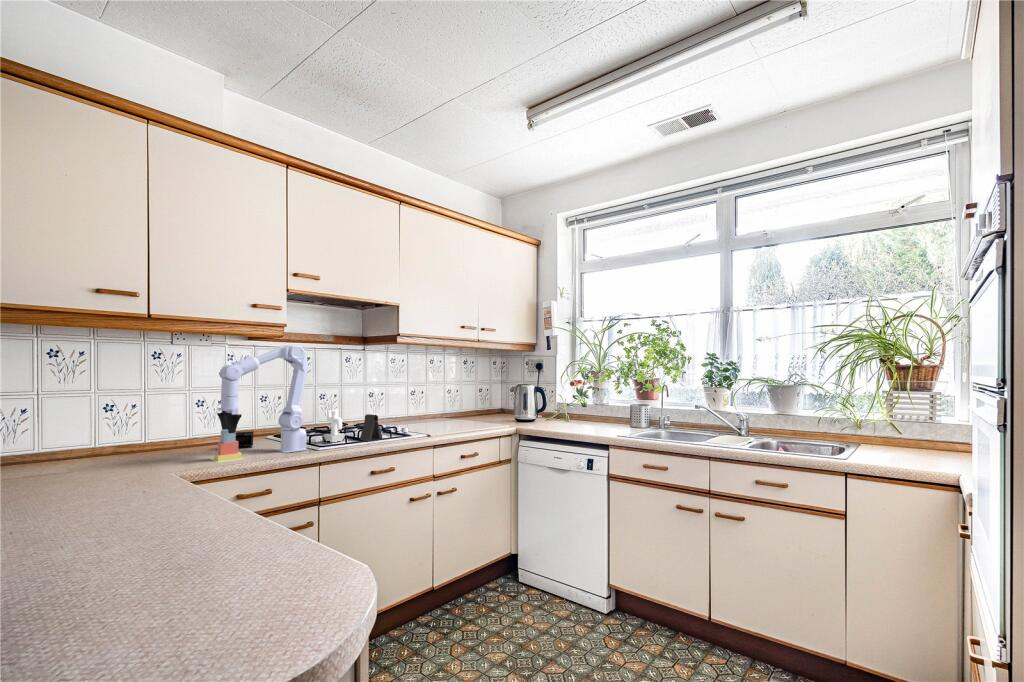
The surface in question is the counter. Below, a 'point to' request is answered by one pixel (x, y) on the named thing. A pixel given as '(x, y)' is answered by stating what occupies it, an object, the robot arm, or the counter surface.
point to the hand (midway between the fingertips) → (228, 432)
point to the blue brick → (227, 436)
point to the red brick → (228, 448)
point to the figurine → (334, 426)
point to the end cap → (244, 439)
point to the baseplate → (226, 460)
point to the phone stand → (371, 429)
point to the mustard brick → (227, 457)
